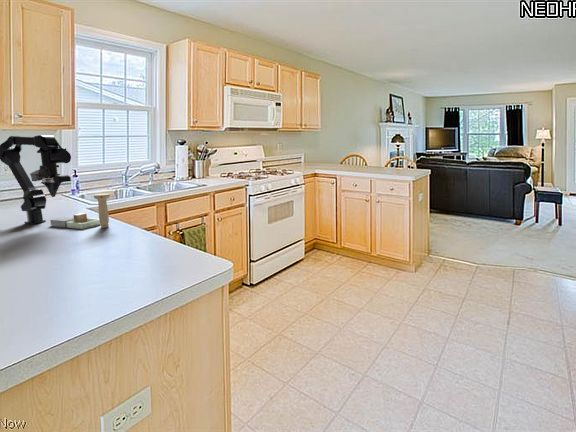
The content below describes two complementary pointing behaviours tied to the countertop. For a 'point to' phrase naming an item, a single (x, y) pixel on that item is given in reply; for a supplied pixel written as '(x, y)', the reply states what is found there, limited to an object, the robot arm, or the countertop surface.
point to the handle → (103, 209)
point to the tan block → (80, 218)
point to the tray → (84, 224)
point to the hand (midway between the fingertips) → (53, 196)
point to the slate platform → (61, 221)
